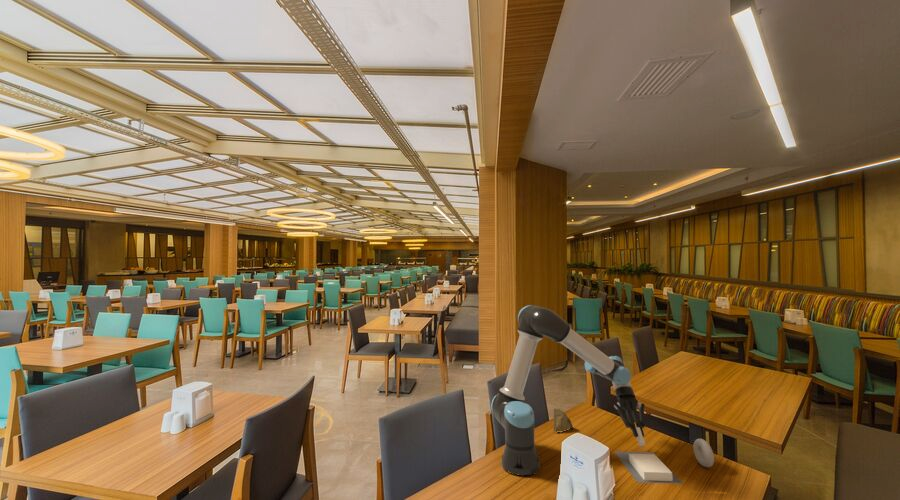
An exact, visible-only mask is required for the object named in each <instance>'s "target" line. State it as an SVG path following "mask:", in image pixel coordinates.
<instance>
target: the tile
mask: <svg viewBox="0 0 900 500" xmlns="http://www.w3.org/2000/svg"><path fill="white" fill-rule="evenodd" d="M657 457H658V456H657V455H656V454H655V453H654V454H629V462H630V463H631V464H632V466H633V467H634V468H635V469H636V471H637V472H638V473H639V474H640V476H641V477H642V478H643V479H644V480H645V481H673V478H672V473H673V472H672V471H671V470H670V468H669V467H668V466H667V465H666V464H665V463H664V462H663V461H662V460H661V459H660V458H659V457H658V458H659V459H660V460H661V461H662V462H663V463H664V464H665V465H666V466H667V467H668V468H669V469H668V468H667V467H666V466H665V465H664V464H663V463H662V462H661V461H660V460H659V459H658V458H657Z"/></svg>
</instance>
